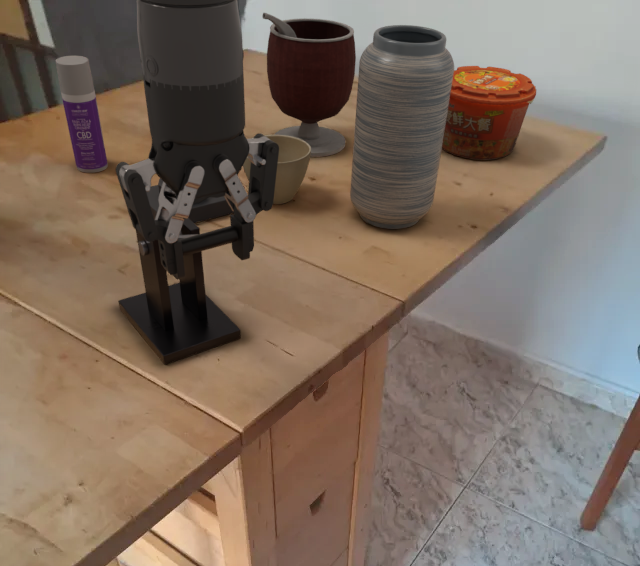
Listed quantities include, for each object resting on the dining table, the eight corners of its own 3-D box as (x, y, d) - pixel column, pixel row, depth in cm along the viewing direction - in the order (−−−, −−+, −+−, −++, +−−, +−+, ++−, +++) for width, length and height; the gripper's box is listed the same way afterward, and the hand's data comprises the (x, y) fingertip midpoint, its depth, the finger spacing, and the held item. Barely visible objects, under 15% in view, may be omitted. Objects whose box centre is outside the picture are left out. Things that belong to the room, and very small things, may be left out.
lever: (241, 246, 62) (234, 219, 61) (185, 262, 60) (178, 234, 59) (191, 246, 72) (185, 223, 71) (142, 259, 70) (135, 236, 69)
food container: (438, 123, 125) (448, 59, 117) (527, 137, 121) (543, 72, 114) (418, 155, 114) (428, 86, 106) (515, 171, 110) (532, 101, 103)
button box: (163, 231, 91) (159, 202, 89) (135, 205, 97) (131, 177, 94) (235, 212, 96) (234, 185, 93) (205, 188, 101) (203, 161, 99)
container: (83, 175, 103) (61, 67, 93) (71, 164, 106) (49, 58, 96) (113, 168, 105) (94, 62, 95) (100, 158, 108) (81, 53, 98)
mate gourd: (319, 122, 123) (324, -7, 109) (366, 149, 115) (377, 12, 101) (244, 138, 116) (239, 2, 103) (288, 167, 108) (289, 24, 94)
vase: (344, 230, 94) (357, 43, 78) (353, 193, 102) (366, 18, 86) (429, 238, 93) (459, 51, 77) (431, 201, 101) (458, 25, 85)
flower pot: (259, 177, 105) (257, 129, 100) (319, 190, 102) (321, 141, 98) (229, 204, 98) (226, 154, 93) (293, 218, 96) (294, 167, 91)
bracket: (241, 338, 75) (236, 239, 66) (164, 365, 71) (149, 263, 63) (191, 287, 82) (181, 192, 74) (119, 309, 78) (100, 211, 70)
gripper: (251, 41, 57) (256, 230, 68) (81, 65, 50) (118, 268, 62) (300, 66, 52) (297, 263, 64) (120, 95, 46) (153, 307, 57)
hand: (209, 264), depth 63 cm, fingers open, 6 cm apart
